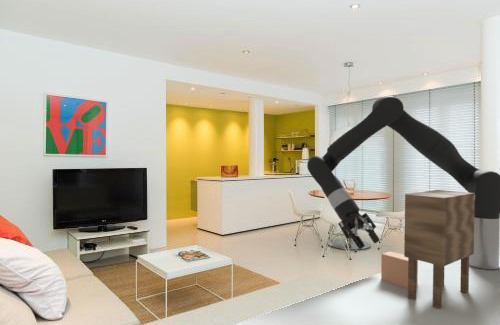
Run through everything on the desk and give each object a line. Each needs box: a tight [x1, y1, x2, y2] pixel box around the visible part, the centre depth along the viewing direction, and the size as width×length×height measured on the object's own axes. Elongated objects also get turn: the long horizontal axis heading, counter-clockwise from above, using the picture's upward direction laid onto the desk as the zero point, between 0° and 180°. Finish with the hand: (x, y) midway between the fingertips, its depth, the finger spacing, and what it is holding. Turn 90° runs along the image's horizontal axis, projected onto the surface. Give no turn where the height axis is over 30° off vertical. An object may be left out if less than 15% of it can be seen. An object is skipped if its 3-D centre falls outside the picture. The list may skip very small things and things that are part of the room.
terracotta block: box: [380, 251, 419, 289], centre depth 102 cm, size 4×9×8 cm, turn 36°
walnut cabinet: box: [403, 189, 475, 309], centre depth 92 cm, size 18×11×28 cm, turn 126°
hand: (370, 244), depth 111 cm, fingers open, 8 cm apart
